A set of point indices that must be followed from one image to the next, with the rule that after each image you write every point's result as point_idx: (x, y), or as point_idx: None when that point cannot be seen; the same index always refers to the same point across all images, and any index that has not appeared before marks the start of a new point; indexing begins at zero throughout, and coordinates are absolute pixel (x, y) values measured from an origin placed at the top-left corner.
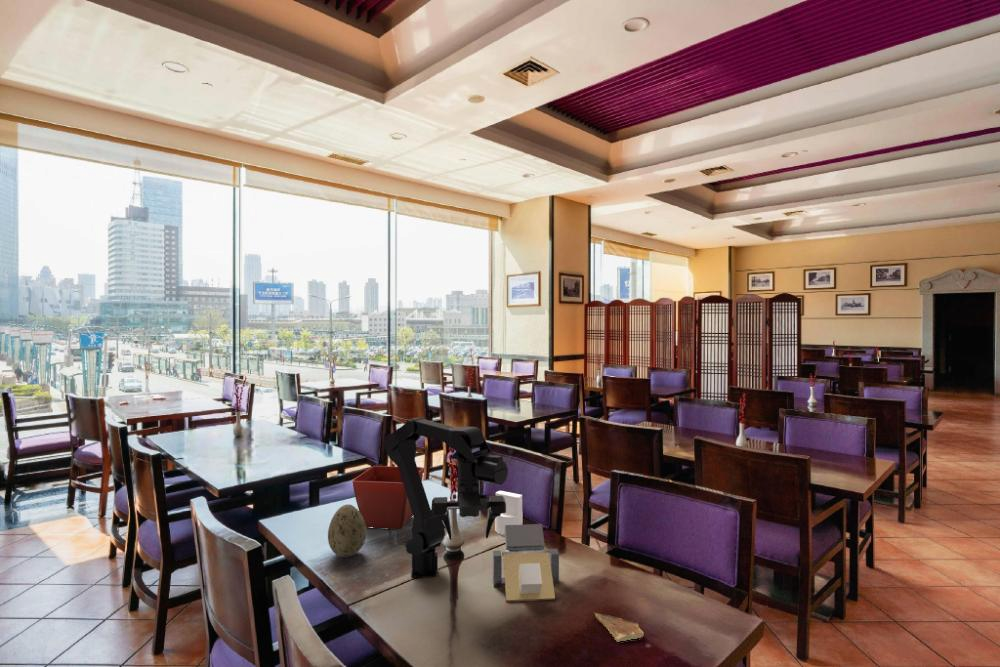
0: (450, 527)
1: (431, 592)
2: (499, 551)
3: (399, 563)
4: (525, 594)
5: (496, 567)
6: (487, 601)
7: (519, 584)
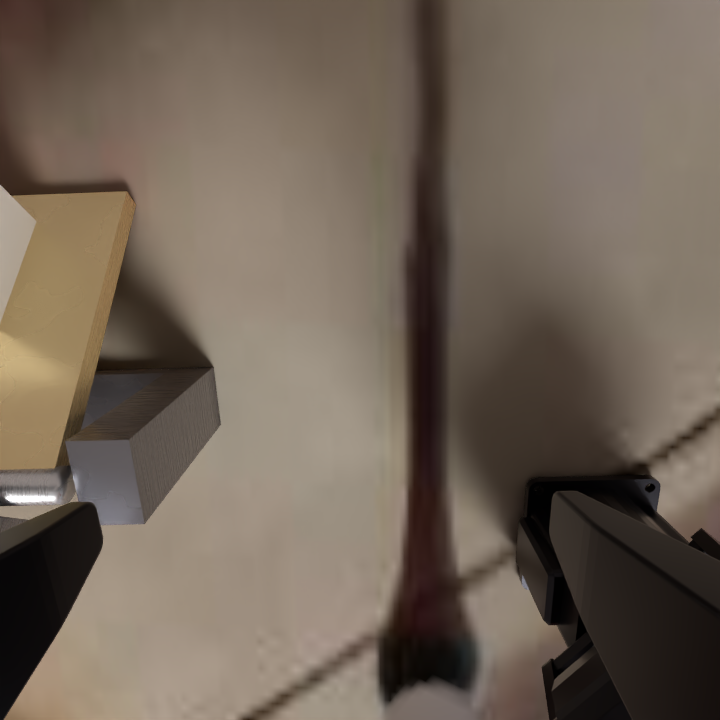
0: (667, 632)
1: (549, 325)
2: None
3: None
4: None
5: (152, 405)
6: (240, 214)
7: (10, 247)
